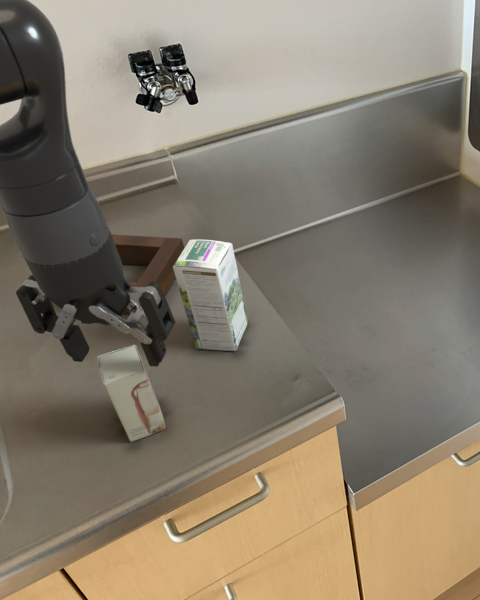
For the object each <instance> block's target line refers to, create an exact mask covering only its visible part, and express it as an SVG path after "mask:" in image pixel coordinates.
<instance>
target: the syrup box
mask: <svg viewBox="0 0 480 600" xmlns="http://www.w3.org/2000/svg"><path fill="white" fill-rule="evenodd" d="M173 269H174V273H175V276H176V279H175V281H176V282H177V287H178V290H179V293H180V297H181V301H182V304H183V308H184V311H185V314H186V318H187V321H188V325H189V328H190V332H191V335H192V339H193V342H194V345H195V348H196V349H198V350H199V349H200V350H212V351H226V352H227V351H228V352H237V351H238V349H239V346H240V344H241V341H242V339H243V336H244V334H245V332H246V330H247V327H248V324H249V321H248V314H247V310H246V305H245V300H244V296H243V290H242V286H241V281H240V280H241V279H240V276H239V272H238V271H239V270H238V266H237V261H236V256H235V252H234V246H233V243H232V242H226V241H222V240H213V239H189V240H188V242H187V244H186V245H185V246H184V250H183V252H182V253H181V255H180V256H179V258H178V260H177V261H176V263H175V264H174V266H173Z"/></svg>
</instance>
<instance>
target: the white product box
mask: <svg viewBox="0 0 480 600" xmlns="http://www.w3.org/2000/svg"><path fill="white" fill-rule="evenodd" d="M96 360H97V366H98V371H99V374H100V377H101V381H102V384H103V387H104V389H105V391H106V393H107V395H108V398H109V399H110V402H111V403H112V406H113V408H114V410H115V412H116V414H117V417H118V419H119V421H120V423H121V425H122V427H123V429H124V431H125V434H126V436H127V438H128V440H129V442H130V443H132V442H134V441H137V440H140V439H143V438H146V437H149V436H151V435H154V434H157V433H159V432H162V431H164V430H166V428H167V425H166V421H165V418H164V415H163V411H162V409H161V408H162V407H161V406H160V403H159V401H158V398H157V396H156V393H155V390H154V388H153V386H152V382H151V380H150V378H149V375H148V372H147V369H146V368H145V367H146V366H145V365H144V362H143V359H142V357H141V354H140V351H139V349H138V347H137V345H136V344H133V345H130V346H126V347H121V348H119V349H116V350H113V351H109V352H106V353H103V354H99V355H97V357H96Z"/></svg>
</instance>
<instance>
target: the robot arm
mask: <svg viewBox="0 0 480 600" xmlns="http://www.w3.org/2000/svg"><path fill="white" fill-rule="evenodd" d="M19 100H21V101H20V105H19V107H18V111H17V112H16V113H15V114H14V115H13V116H12V117H11V118H10V119H8V120H6V121H5V122H3V123H1V124H0V206H1V210H2V211H3V214H4V216H5V219H6V223H7V226H8V230H9V232H10V233H11V235H12V238H13V239H14V242H15V243H16V245H17V247H18V249H19V251H20V254H22V257H23V258H24V261H25V263H26V265H27V267H28V268H29V271H30V272H31V274H30V275H29V276H28V277H27V279H25V280H24V282H23V283H22V284H21V285H20V286H19V288H18V289H17V290H16V291H15V295H16V297H17V298H18V301H19V303H20V305H21V307H22V309H23V311H24V314H25V316H26V317H27V319H28V321H29V324H30V326H31V327H32V330H33V331H34V332H35V333H37V334H40V335H42V334H44V333H45V332H47V333H51V335H52V337H54V338H56V339H58V340H59V342H60V343H61V345H62V347H63V349H64V351H65V353H66V354H67V355H68V356H69V357H70V358H71V360H72V361H73V362H75V363H77V362H78V363H82V362H83V361H84V360H85V358H86V357H87V355H88V354H89V352H90V345H89V344H88V341H87V339H86V337H85V335H84V334H83V332H82V329H81V327H80V325H79V324H75V322H76V320H77V321H79V322H81V324H84V325H91V324H100V325H104V326H112V327H114V328H115V329H116V330H118V331H119V332H121V333H122V334H124V335H126V334H130V335H131V336H133V338H135V339H137V340H138V341H139V342H140V346H141V348H142V351H143V353H144V356H145V358H146V360H147V364H148V365H149V367H155V368H157V367H158V366H159V365H160V364H161V363H162V362H163V360H164V357H165V356H166V354H167V350H168V349H167V347H166V345H165V341H167V339H168V338H169V335H170V334H171V332H172V330H173V328H174V327H175V324H176V319H175V317H174V314H173V312H172V310H171V307H170V305H169V303H168V301H167V298H166V296H164V293H163V291H162V288H161V286H160V284H159V283H157V282H155V281H150V282H149V283H148V285H147V287H132V286H131V284H130V283H128V282H129V281H128V280H127V279H126V278H125V276H124V269H123V264H122V261H121V258H120V256H119V253H118V251H117V248H116V246H115V243H114V240H113V238H112V235H113V234H112V233H111V231H110V227H109V226H108V222H107V219H106V218H105V214H104V212H103V210H102V207H101V204H100V202H99V201H98V199H97V197H96V195H95V194H94V192H93V191H92V189H91V187H90V184H89V183H88V179H87V177H86V174H85V171H84V168H83V166H82V164H81V162H80V159H79V156H78V153H77V151H76V148H75V145H74V143H73V139H72V134H71V126H70V121H69V112H68V104H67V81H66V68H65V61H64V53H63V49H62V45H61V42H60V38H59V36H58V34H57V31H56V29H55V27H54V25H53V24H52V23H51V21H50V20H49V18H48V17H47V16H46V15H45V13H44V12H43V11H42V10H40V9H39V7H37V5H35V4H34V3H32V2H31V1H30V0H0V106H1V105H5V104H9V103H12V102H16V101H19ZM111 234H112V235H111ZM52 303H53V304H54V305H55V306H57V307H58V308H60V309H61V311H60V314H59V315H57V313H56V310H55V307H54V305H53V304H52ZM126 308H128V309H129V310H130V314H129V315H128V317H127V318H126V319H124V318H123V317H122V316H123V314H125V313H124V311H125V309H126ZM138 323H140V324H142V325H143V326H145V328H143V327H141V326H140V325H139V324H138Z"/></svg>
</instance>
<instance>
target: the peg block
mask: <svg viewBox="0 0 480 600" xmlns="http://www.w3.org/2000/svg"><path fill="white" fill-rule="evenodd" d="M111 235H112V238H113V240H114V243H115V246H116V248H117V251H118V253H119V256H120V258H121V261H122V266H123V265H126V266H142V267H146V268H145V270H144V271H143V273H142V274H141V276H140V277H139V279H138V281H127V282H128V283H130V284H131V286H132V287H147V285H148V283H149V282H150V281H155V282H157V283H159V284H160V286H161V288H162V291H163V293H164V296H165V297H167V295H168V293H169V292H170V290H171V288H172V286H173V285H174V283H175V281H176V276H175V273H174V269H173V266H174V264H175V263H176V261H177V260H178V258H179V256H180V255H181V253H182V252H183V250H184V248H185V245H184V244H185V243H184V241H183V238H179V237H163V236H161V237H160V236H146V235H145V236H144V235H130V234H129V235H127V234H112V233H111ZM123 314H127V315H128V314H129V315H130V310H129V309H128V308H126V309H125V311H124V313H123Z"/></svg>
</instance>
